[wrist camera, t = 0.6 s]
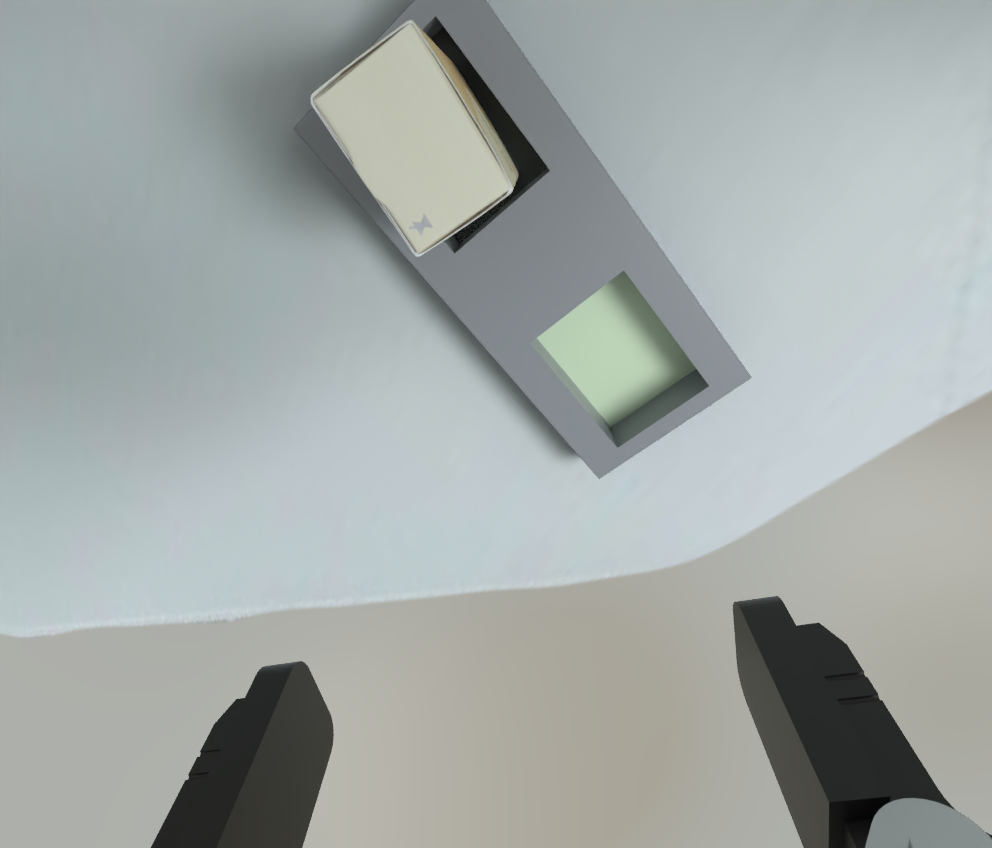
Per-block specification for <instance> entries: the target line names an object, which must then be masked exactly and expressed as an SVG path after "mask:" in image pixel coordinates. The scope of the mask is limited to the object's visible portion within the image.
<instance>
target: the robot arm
mask: <svg viewBox="0 0 992 848" xmlns="http://www.w3.org/2000/svg"><path fill="white" fill-rule="evenodd" d="M733 615H734V629H735V643H736V655H737V666H738V673H739V678H740V682H741V686H742V690H743V693H744V696H745V699H746V702H747V705H748V707H749V710H750V712H751V715H752V717H753V720H754V723H755V725H756V727H757V730H758V733H759V735H760V738H761V740H762V743H763V745H764V748H765V750H766V753H767V756H768V758H769V760H770V763H771V766H772V768H773V771H774V773H775V776H776V778H777V781H778V783H779V786H780V788H781V791H782V794H783V796H784V799H785V801H786V804H787V806H788V809H789V811H790V814H791V816H792V819H793V821H794V824H795V827H796V829H797V832H798V834H799V837H800V839H801V841H802V844H803V847H804V848H992V835H990V834H988V833H986V832H985V831H984V830H983V829H982V828H980V827H979V826H978V825H977V824H976V823H974V822H973V821H972V820H971V819H969V818H968V817H966V816H965V815H963V814H961V813H960V812H958V811H956V810H955V809H954V808H953V807H952V806H951V805H950V804H949V803H948V801H947V800H946V799H945V798H944V797H943V795H942V794H941V793H940V791H939V790H938V788H937V787H936V785H935V784H934V782H933V781H932V779H931V777H930V776H929V774H928V772H927V771H926V769H925V768H924V766H923V765H922V763H921V762H920V760H919V758H918V757H917V755H916V754H915V752H914V750H913V749H912V747H911V746H910V744H909V742H908V741H907V739H906V738H905V736H904V735H903V733H902V731H901V730H900V728H899V727H898V725H897V723H896V722H895V720H894V719H893V717H892V715H891V714H890V712H889V711H888V709H887V708H886V706H885V705H884V703H883V701H882V700H880V699H879V697H878V693H877V692H876V690H875V689H874V687H873V685H872V684H871V682H870V681H869V679H868V678H867V677H865V675H864V671H863V670H862V668H861V667H860V665H859V663H858V662H857V660H856V659H855V657H854V655H853V654H852V652H851V651H850V649H849V647H848V646H847V644H845V643H844V642H843V641H842V640H840V639H839V638H838V637H836V636H835V635H834V634H832V633H831V632H830V631H829V630H827V629H826V628H825V627H824V626H822V625H821V624H820V623H815V624H806V625H799V626H796V625H795V623H794V621H793V619H792V617H791V616H790V614H789V612H788V610H787V608H786V607H785V605H784V603H783V601H782V600H781V599H780V598H779V597H778V596H775V597H767V598H760V599H753V600H746V601H739V602H734V604H733ZM332 745H333V723H332V718H331V715H330V713H329V710H328V708H327V706H326V704H325V702H324V700H323V697H322V695H321V693H320V691H319V689H318V687H317V685H316V683H315V680H314V678H313V676H312V674H311V672H310V670H309V668H308V666H307V665H306V664H305V663H304V662H302V661H300V662H293V663H286V664H279V665H272V666H265V667H262V668H261V669H260V670H259V671H258V673H257V675H256V676H255V678H254V681H253V683H252V685H251V687H250V689H249V691H248V693H247V695H246V697H245V698H242V699H236V700H235V702H234V703H233V704H232V705H231V706H230V707H229V708H228V710H226V712H225V713H224V714H223V715H222V716H221V717H220V718H219V719H218V721H217V722H216V723H215V724H214V726H213V728H212V730H211V732H210V734H209V736H208V737H207V740H206V741H205V743H204V745H203V747H202V749H201V751H200V752H201V755H200V757H197V759H196V761H195V763H194V765H193V767H192V769H191V771H190V772H189V779H188V780H186V781H185V782H184V784H183V786H182V788H181V790H180V792H179V794H178V796H177V798H176V800H175V802H174V804H173V806H172V808H171V810H170V812H169V813H168V816H167V817H166V819H165V821H164V823H163V825H162V827H161V829H160V831H159V833H158V835H157V837H156V839H155V841H154V843H153V845H152V847H151V848H302V846H303V843H304V840H305V836H306V833H307V830H308V827H309V823H310V820H311V817H312V813H313V810H314V807H315V803H316V800H317V797H318V794H319V790H320V787H321V784H322V780H323V777H324V774H325V770H326V767H327V764H328V761H329V757H330V754H331V750H332Z"/></svg>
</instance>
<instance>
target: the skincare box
mask: <svg viewBox="0 0 992 848" xmlns="http://www.w3.org/2000/svg"><path fill="white" fill-rule="evenodd" d="M310 102H311V105H312V107H313V108H314V110H315V111H316V113H317V114H318V116H319V117H320V119H321V120H322V122H323V123H324V125H325V126H326V128H327V129H328V131H329V132H330V134H331V135H332V136H333V138H334V139H335V141H336V142H337V144H338V145H339V147H340V148H341V150H342V151H343V153H344V154H345V156H346V157H347V158H348V160H349V161H350V163H351V164H352V166H353V167H354V169H355V170H356V172H357V173H358V175H359V176H360V178H361V179H362V181H363V182H364V184H365V185H366V186H367V188H368V189H369V191H370V192H371V194H372V195H373V196H374V198H375V199H376V201H377V202H378V203H379V205H380V206H381V208H382V209H383V211H384V212H385V213H386V215H387V216H388V218H389V219H390V221H391V222H392V224H393V225H394V226H395V228H396V229H397V231H398V232H399V234H400V235H401V237H402V238H403V239H404V241H405V242H406V244H407V245H408V247H409V248H410V249H411V251H412V253H413V254H414V255H415V256H416V257H419V256H421V255H423V254H424V253H426V252H428V251H429V250H431V249H432V248H434V247H435V246H437V245H438V244H440V243H442V242H443V241H445V240H446V239H448V238H449V237H451V236H452V235H454V234H455V233H457V232H458V231H460V230H461V229H463V228H464V227H466V226H467V225H469V224H470V223H472V222H473V221H474V220H476V219H477V218H479V217H480V216H482V215H483V214H484V213H486V212H487V211H488V210H490V209H491V208H493V207H494V206H495V205H497V204H498V203H499V202H501V201H502V200H503V199H505V198H506V197H507V196H509V195H510V194H511V193H512V192H513V189H514V187H515V184H516V181H517V179H518V176H519V172H518V170H517V168H516V166H515V164H514V163H513V161H512V159H511V157H510V155H509V153H508V151H507V149H506V148H505V146H504V144H503V142H502V140H501V139H500V137H499V135H498V133H497V132H496V130H495V128H494V126H493V125H492V123H491V121H490V119H489V118H488V116H487V114H486V113H485V111H484V109H483V108H482V106H481V105H480V103H479V101H478V100H477V98H476V97H475V95H474V93H473V92H472V90H471V89H470V87H469V85H468V84H467V82H466V81H465V79H464V78H463V76H462V74H461V73H460V71H459V70H458V68H457V66H456V65H455V64H454V63H453V62H452V61H451V60H450V59H449V58H448V57H447V56H446V55H445V54H444V53H443V52H442V50H441V49H440V48H439V47H437V45H436V44H435V43H434V42H433V41H432V40H431V39H430V38H429V37H428V36H427V35H426V34H425V33H424V32H423V31H422V30H421V29H420V28H419V27H418V26H417V25H416V23H415V22H414V21H413V20H408V21H406V22H404V23H403V24H402V25H401V26H399V27H398V28H397V29H395V30H394V31H393V32H391V33H390V34H388V35H387V36H386V37H384V38H383V39H382V40H380V41H379V42H377V43H376V44H375V45H373V46H372V47H370V48H369V49H368V50H367V51H365V52H364V53H362V54H361V55H360V56H358V57H357V58H356V59H355V60H353V61H352V62H351V63H349V64H348V65H347V66H346V67H344V68H343V69H341V70H340V71H339V72H338V73H336V74H335V75H334V76H333V77H331V78H330V79H329V80H328V81H327V82H325V83H324V84H323V85H321V86H320V87H319V88H318V89H316V90H315V91H314V92H313V93H312V94H311V97H310Z"/></svg>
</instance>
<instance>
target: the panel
mask: <svg viewBox="0 0 992 848" xmlns="http://www.w3.org/2000/svg"><path fill="white" fill-rule="evenodd" d="M408 20H413V21H414V22H415V23H416V25H417V26H418V27H419V28H420V29H421V30H422V31H423V32H424V33H425V34H426V35H427V36H428V37H429V38H430V39H432V37H433V36H434V35H435V34H436V33H437V32H438V31H439V30H440V29H441V28H442V27H443V26H444V28H445V29H446V31H447V32H448V33H449V35H450V36H451V37H452V39H453V40H454V41H455V43H456V44H457V45H458V47H459V48H460V49H461V51H462V52H463V54H464V55H465V56H466V58H467V59H468V60H469V62H470V63H471V64H472V66H473V67H474V68H475V70H476V71H477V72H478V74H479V75H480V77H481V78H482V79H483V81H484V82H485V83H486V85H487V86H488V87H489V89H490V90H491V91H492V93H493V94H494V95H495V97H496V98H497V100H498V101H499V102H500V104H501V105H502V106H503V108H504V109H505V110H506V112H507V113H508V114H509V116H510V117H511V118H512V120H513V121H514V123H515V124H516V125H517V127H518V128H519V129H520V131H521V132H522V133H523V135H524V136H525V137H526V139H527V140H528V141H529V143H530V144H531V146H532V147H533V148H534V150H535V151H536V152H537V154H538V155H539V156H540V158H541V159H542V160H543V162H544V163H545V164H546V166H547V168H546V169H545V170H544V171H542V172H541V173H540V174H539V175H538V176H537V177H536V178H534V179H533V180H532V181H531V182H530V183H529V184H528V185H526V186H525V187H524V188H523V189H522V190H521V191H519V192H518V193H517V194H516V195H515V196H514V197H513V198H511V199H510V200H509V201H508V202H507V203H506V204H505V205H503V206H502V207H501V208H500V209H499V210H498V211H497V212H495V213H494V214H493V215H492V216H491V217H490V218H489V219H487V220H486V221H485V222H484V223H483V224H482V225H480V226H479V227H478V228H477V229H476V230H475V231H474V232H472V233H471V234H470V235H469V236H468V237H467V238H466V239H464V240H463V241H462V242H461V243H460V244H459V242H458V241H457V240H456V239H455V238H454V236H453V235H452V236H451V237H449V238H448V239H446V240H445V241H443V242H442V243H440V244H438V245H437V246H435V247H434V248H432V249H431V250H429V251H428V252H426V253H424V254H423V255H421V256H419V257H416V256H415V255H414V254H413V253H412V251H411V249H410V248H409V247H408V245H407V244H406V242H405V241H404V239H403V238H402V237H401V235H400V234H399V232H398V231H397V229H396V228H395V226H394V225H393V224H392V222H391V221H390V219H389V218H388V216H387V215H386V213H385V212H384V211H383V209H382V208H381V206H380V205H379V203H378V202H377V201H376V199H375V198H374V196H373V195H372V194H371V192H370V191H369V189H368V188H367V186H366V185H365V184H364V182H363V181H362V179H361V178H360V176H359V175H358V173H357V172H356V170H355V169H354V167H353V166H352V164H351V163H350V161H349V160H348V158H347V157H346V156H345V154H344V153H343V151H342V150H341V148H340V147H339V145H338V144H337V142H336V141H335V139H334V138H333V136H332V135H331V134H330V132H329V131H328V129H327V128H326V126H325V125H324V123H323V122H322V120H321V119H320V117H319V116H318V114H317V113H316V111H315V110H314V108H312V109H311V110H310V111H309V112H308V114H307V115H306V116H305V117H304V118H303V119H302V120H301V121H300V122H299V123H298V124H297V125H296V126H295V127H294V128H293V129H294V130H295V131H296V132H297V133H298V134H299V135H300V137H301V138H302V139H303V140H304V141H305V142H306V144H307V145H308V146H309V147H310V148H311V149H312V150H313V152H314V153H315V154H316V155H317V156H318V157H319V158H320V160H321V161H322V162H323V163H324V164H325V165H326V166H327V168H328V169H329V170H330V171H331V172H332V173H333V174H334V176H335V177H336V178H337V179H338V180H339V181H340V182H341V184H342V185H343V186H344V187H345V188H346V189H347V191H348V192H349V193H350V194H351V195H352V196H353V197H354V199H355V200H356V201H357V202H358V203H359V204H360V205H361V207H362V208H363V209H364V210H365V211H366V212H367V213H368V215H369V216H370V217H371V218H372V219H373V220H374V221H375V223H376V224H377V225H378V226H379V227H380V228H381V230H382V231H383V232H384V233H385V234H386V235H387V236H388V238H389V239H390V240H391V241H392V242H393V243H394V244H395V246H396V247H397V248H398V249H399V250H400V251H401V252H402V254H403V255H404V256H405V257H406V258H407V259H408V260H409V262H410V263H411V264H412V265H413V266H414V267H415V268H416V270H417V271H418V272H419V273H420V274H421V275H422V277H423V278H424V279H425V280H426V281H427V282H428V283H429V285H430V286H431V287H432V288H433V289H434V290H435V291H436V293H437V294H438V295H439V296H440V297H441V298H442V299H443V301H444V302H445V303H446V304H447V305H448V306H449V307H450V309H451V310H452V311H453V312H454V313H455V314H456V316H457V317H458V318H459V319H460V320H461V321H462V322H463V324H464V325H465V326H466V327H467V328H468V329H469V330H470V332H471V333H472V334H473V335H474V336H475V337H476V338H477V340H478V341H479V342H480V343H481V344H482V345H483V346H484V348H485V349H486V350H487V351H488V352H489V353H490V355H491V356H492V357H493V358H494V359H495V360H496V361H497V363H498V364H499V365H500V366H501V367H502V368H503V369H504V371H505V372H506V373H507V374H508V375H509V376H510V377H511V379H512V380H513V381H514V382H515V383H516V384H517V385H518V387H519V388H520V389H521V390H522V391H523V392H524V393H525V395H526V396H527V397H528V398H529V399H530V400H531V402H532V403H533V404H534V405H535V406H536V407H537V408H538V410H539V411H540V412H541V413H542V414H543V415H544V416H545V418H546V419H547V420H548V421H549V422H550V423H551V424H552V426H553V427H554V428H555V429H556V430H557V431H558V432H559V434H560V435H561V436H562V437H563V438H564V439H565V441H566V442H567V443H568V444H569V445H570V446H571V447H572V449H573V450H574V451H575V452H576V453H577V454H578V455H579V457H580V458H581V459H582V460H583V461H584V462H585V463H586V465H587V466H588V467H589V468H590V469H591V470H592V471H593V473H594V474H595V475H596V476H597V477H598V478H599V479H600V478H601V477H603V476H604V475H606V474H607V473H609V472H610V471H612V470H613V469H615V468H616V467H618V466H619V465H621V464H622V463H624V462H625V461H627V460H628V459H630V458H631V457H633V456H634V455H636V454H637V453H639V452H641V451H642V450H644V449H645V448H647V447H648V446H650V445H651V444H653V443H654V442H656V441H657V440H659V439H660V438H662V437H663V436H665V435H666V434H668V433H669V432H671V431H672V430H674V429H675V428H677V427H678V426H680V425H681V424H683V423H684V422H686V421H687V420H689V419H690V418H692V417H693V416H695V415H696V414H698V413H699V412H701V411H702V410H704V409H705V408H707V407H708V406H710V405H711V404H713V403H714V402H716V401H717V400H719V399H720V398H722V397H723V396H725V395H726V394H728V393H730V392H731V391H733V390H734V389H736V388H737V387H739V386H740V385H742V384H743V383H745V382H746V381H748V380H749V379H751V378H752V377H751V376H750V374H749V373H748V371H747V370H746V369H745V367H744V366H743V364H742V363H741V362H740V360H739V359H738V357H737V356H736V354H735V353H734V352H733V350H732V349H731V347H730V346H729V345H728V343H727V342H726V340H725V339H724V337H723V336H722V335H721V333H720V332H719V330H718V329H717V328H716V326H715V325H714V323H713V322H712V320H711V319H710V318H709V316H708V315H707V313H706V312H705V310H704V309H703V308H702V306H701V305H700V303H699V302H698V301H697V299H696V298H695V296H694V295H693V293H692V292H691V291H690V289H689V288H688V286H687V285H686V284H685V282H684V281H683V279H682V278H681V276H680V275H679V274H678V272H677V271H676V269H675V268H674V267H673V265H672V264H671V262H670V261H669V259H668V258H667V257H666V255H665V254H664V252H663V251H662V250H661V248H660V247H659V245H658V244H657V242H656V241H655V240H654V238H653V237H652V235H651V234H650V233H649V231H648V230H647V228H646V227H645V225H644V224H643V223H642V221H641V220H640V218H639V217H638V216H637V214H636V213H635V211H634V210H633V208H632V207H631V206H630V204H629V203H628V201H627V200H626V198H625V197H624V196H623V194H622V193H621V191H620V190H619V189H618V187H617V186H616V184H615V183H614V181H613V180H612V179H611V177H610V176H609V174H608V173H607V172H606V170H605V169H604V167H603V166H602V164H601V163H600V162H599V160H598V159H597V157H596V156H595V155H594V153H593V152H592V150H591V149H590V147H589V146H588V145H587V143H586V142H585V140H584V139H583V138H582V136H581V135H580V133H579V132H578V130H577V129H576V128H575V126H574V125H573V123H572V122H571V121H570V119H569V118H568V116H567V115H566V113H565V112H564V111H563V109H562V108H561V106H560V105H559V104H558V102H557V101H556V99H555V98H554V96H553V95H552V94H551V92H550V91H549V89H548V88H547V86H546V85H545V84H544V82H543V81H542V79H541V78H540V77H539V75H538V74H537V72H536V71H535V69H534V68H533V67H532V65H531V64H530V62H529V61H528V60H527V58H526V57H525V55H524V54H523V52H522V51H521V50H520V48H519V47H518V45H517V44H516V43H515V41H514V40H513V38H512V37H511V35H510V34H509V33H508V31H507V30H506V28H505V27H504V26H503V24H502V23H501V21H500V20H499V18H498V17H497V16H496V14H495V13H494V11H493V10H492V9H491V7H490V6H489V4H488V3H487V1H486V0H414V1H413V2H412V4H411V5H410V6H409V7H408V8H407V9H406V10H405V11H404V12H403V13H402V14H401V15H400V16H399V17H398V18H397V19H396V20H395V22H394V23H393V24H392V25H391V26H390V27H389V28H388V29H387V30H386V31H385V32H384V33H383V34H382V35H381V36H380V37H379V38H378V40H377V41H376V42H375V43H374V44H373V45H375V44H376V43H377V42H379V41H380V40H382V39H383V38H384V37H386V36H387V35H388V34H390V33H391V32H393V31H394V30H395V29H397V28H398V27H399V26H401V25H402V24H403V23H404V22H406V21H408ZM373 45H372V46H373ZM372 46H371V47H372Z"/></svg>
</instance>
